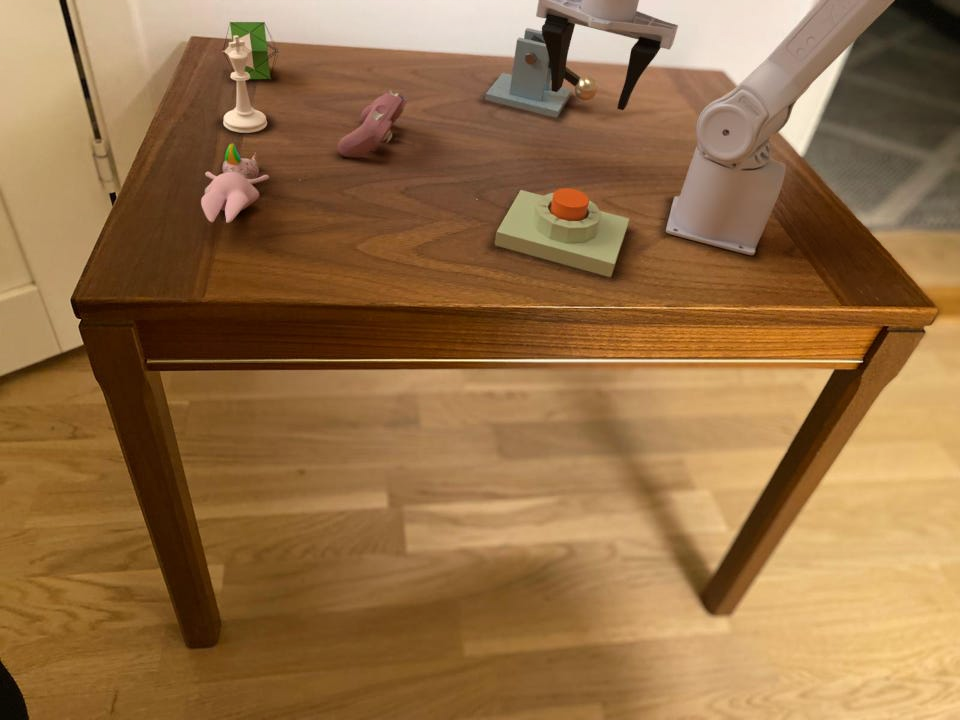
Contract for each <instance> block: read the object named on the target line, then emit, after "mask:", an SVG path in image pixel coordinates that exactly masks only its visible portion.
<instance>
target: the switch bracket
mask: <svg viewBox="0 0 960 720" xmlns="http://www.w3.org/2000/svg"><path fill="white" fill-rule="evenodd" d="M534 35H535V36H537V37H538V38H539V39H541V40H542V41H543V42H545V41H544V38H543V36H542V30H538V29H533V28H529V27H527V28H526V29H525V30H524V35H523V37H518V38H517V39H516V44H515V50H514V57H513V65H512V72H511V74H510V73H506V72H502V73H501V74H500V76H499V77H498V78H497V79H496V80H495V82H494V83H493V84H492V85H491V86H490V88H489V89H488V90H487V91H486V93H485V95H484V96H485V97H484V100H485V101H489V102H493V103H496V104H501V105H505V106H509V107H512V108H517V109H521V110H525V111H529V112H533V113H537V114H541V115H546V116H549V117H553V118H559V116H560V114H561V112H562V111H563V109H564V107H565V106H566V103H567V102H568V100H569V99H570V97H571V95H572V88H568V87H565V86H562V87H561V88H560V89H559V90H558V92H553V91H551V69H550V68H549V67H548V65H549V56H548V51H547V48H546V44H545V43H541V42H536V41H532V40H530V39H531V38H532V37H533V36H534Z"/></svg>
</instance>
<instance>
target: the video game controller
mask: <svg viewBox="0 0 960 720" xmlns="http://www.w3.org/2000/svg"><path fill="white" fill-rule="evenodd" d="M407 102H408V100H407V98H405V97H404V96H403V95H401V94H399V93H398V92H396V93H395V92H393V91H392V90H391V89H390V90H389V91H388V92H386V93H384V94H383V95H379V96H378V97H377V98H375V99H374V100H373V102H372V103H371V104H369V105H367V106H366V107H365V108H364V109H363V110H362V112H361V114H360V120H361V122H362V124H361V125H360V126H359V127H358V128H356V129H354V130H353V131H351V132H349V133H348V134H345V135H344V136H343V137H341V139H340V140H339V141H338V144H337V151H338V153H339V155H341V156H342V157H345V158H357V157H360V156H363V155H365V154H367V153H368V152H370V151H371V152H373V153H375V152H376V150H377V149H378V147H379V146H380V144H381V143H382V142H385V143H386V144H387V143H389V142H390V141H391V140H392V138H393V133H392V130H391V128H392V127H393V125H394V123H395V122H396V121H397V120H398V119H399V118H400V117H401V116H402V114H403V112H404V108H405V106H406V104H407Z"/></svg>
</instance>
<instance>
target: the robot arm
mask: <svg viewBox="0 0 960 720" xmlns="http://www.w3.org/2000/svg"><path fill="white" fill-rule="evenodd" d="M894 2H895V0H818V1H817V2H816V3H815V5H814V6H813V7H812V8H811V9H810V10H809V11H808V12H807V13H806V14H805V16H804V17H803V18H802V19H801V20H800V21H799V22H798V23H797V24H796V25H795V26H794V28H793V29H792V30H791V31H790V32H789V33H788V34H787V35H786V36H785V37H784V39H783V40H782V41H781V42H780V43H779V44H778V45H777V46H776V47H775V49H774V50H773V51H772V52H771V53H770V54H769V55H768V56H767V58H766V59H765V60H763V61H762V63H760V64H758V66H757V67H756V68H755V69H754V70H752V72H751V73H749V74H748V76H746V77H745V78H744V79H743V80H742V81H741V82H740V83H739V84H738V85H737V86H736V87H735V88H733V89H732V90H731V91H729V92H727V93H726V94H725V95H723V96H722V97H719V98H717V99H715V100H713V101H711V102H709V104H707V105H706V106H705V107H704V108H703V110H702V111H701V112H700V114H699V116H698V118H697V121H696V127H695V132H696V133H695V134H696V140H697V143H696V146H695V150H694V153H693V155H692V158H691V161H690V164H689V168H688V171H687V174H686V177H685V179H684V182H683V184H682V188H681V191H680V193H679V195H678V196H677V195H675V196H674V197H673V199H672V200H673V201H672V204H671V208H670V212H669V216H668V219H667V224H666V228H665V232H666V233H667V234H669V235H671V236H675V237H679V238H683V239H687V240H689V241H690V240H691V241H693V242H698V243H701V244H704V245H705V244H706V245H709V246H713V247H716V248H720V249H723V250H728V251H731V252H736V253H740V254H743V255H748V256H754V255H755V254H756V249H757V246H758V244H759V242H760V239H761V237H762V235H763V232H764V230H765V228H766V226H767V224H768V221H769V219H770V217H771V214H772V212H773V210H774V207H775V205H776V203H777V200H778V198H779V195H780V193H781V189H782V187H783V184H784V179H785V176H786V170H787V165H786V164H785V163H783V162H781V161H778V160H776V159H775V158H772V157H771V143H770V138H771V137H772V136H774V135H775V134H777V133H778V132H780V131H781V130H782V129H783V128H784V127H785V126H786V125H787V123H788V121H789V120H790V118H791V115H792V111H793V108H794V106H795V104H796V103H797V102H798V100H799V99H800V98H801V97H802V96H803V95H804V94H805V93H806V92H807V91H808V90H809V88H810V86H811V85H812V84H813V83H814V82H815V81H816V80H817V79H818V78H819V77H820V76H821V75H822V74H823V73H824V72H825V71H826V70H827V69H828V68H829V67H830V66H831V65H832V64H833V63H834V62H835V61H836V60H837V59H838V58H839V57H840V56H841V55H842V54H843V53H844V52H845V51H846V50H847V49H848V48H849V47H850V46H851V45H852V44H853V43H854V42H855V41H856V40H857V39H858V38H859V37H860V36H861V35H862V34H863V33H864V32H865V31H866V30H867V29H868V28H869V26H871V25H872V24H873V23H874V21H876V20H877V19H878V18H879V17H880V16H881V15H882V14H883V13H884V12H885V11H886V10H887V9H888V8H889V7H890V6H891V5H892V4H893V3H894ZM639 3H640V0H538V1H537V8H536V14H535V17H537V18H540V19H545V20H544V24H543V25H542V26H541V31H542V36H543V38H544V41H545V44H546V48H547V51H548V56H549V61H550V68H551V91H553V92H558V90H559V89H560V88H561V87H563V84H564V80H565V79H564V76H565V69H566V67H567V60H568V55H569V50H570V46H571V42H572V38H573V34H574V30H575V26H576V25H578V26H582V27H586V28H589V29H595V30H598V31H603V32H606V33H610V34H614V35H618V36H622V37H626V38H630V39H635V40H637V41H636V42H635V43H634V45H633V46H632V47H631V49H630V53H629V60H628V65H627V70H626V74H625V80H624V83H623V86H622V90H621V92H620V96H619V99H618V103H617V107H616V109H617V110H620V111H624V110H625V109H626V108H627V106H628V103H629V101H630V98H631V95H632V93H633V91H634V90H635V87H636V85H637V83H638V82H639V80H640V78H641V76H642V74H643V73H644V72H645V70H647V68H648V66H649V65H650V64H651V63H652V61H653V60H654V59H655V58H656V56H657V54H658V53H659V51H660V50H661V49H665V50H671V48H672V47H673V45H674V42H675V38H676V35H677V31H678V29H679V25H678V24H675V23H672V22H669V21H665V20H662V19H659V18H656V17H654V16H651V15H649V14H646V13H643V12H641V11H638V7H639Z"/></svg>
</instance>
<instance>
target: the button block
mask: <svg viewBox="0 0 960 720" xmlns="http://www.w3.org/2000/svg"><path fill="white" fill-rule="evenodd" d="M553 194H554V192H550V193H547V194H545V195H542V194H538V193H535V192H531V191H528V190H527V191H526V190H523V189H520V190H519V192H518V194H517V196H516V197H515V199H514V200H513V203H512V204H511V206H510V208H509V210H508V211H507V213H506V215H505V216H504V218H503V220H502V222H501V223H500V225H499V227H498V228H497V230H496V234H495V239H494V246H496V247H499V248H504V249H507V250H510V251H515V252H518V253H521V254H525V255H529V256H532V257H536V258H540V259H542V260H547V261H550V262H554V263H557V264H561V265H563V266H564V265H565V266H568V267H571V268H576V269H579V270H583V271H586V272H590V273H593V274H596V275H597V274H598V275H601V276H605V277H608V278H612V275H613V272H614V270H615V267H616V263H617V260H618V257H619V254H620V251H621V248H622V245H623V242H624V239H625V235H626V232H627V229H628V225H629V223H630V218H629V217H625V216H622V215H618V214H615V213H610V212H607V211H603V210H600V209H599V207H598V205H597V204H596V203H594V201H591V200H590V199H589V204H588V208H587V212H586V216H585V218H584V219H583V220H581V221H567V220H563V219H559V218H557V217H556V216H554V215H553V214H552V213H551V211H550V208H551V203H552V199H553Z"/></svg>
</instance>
